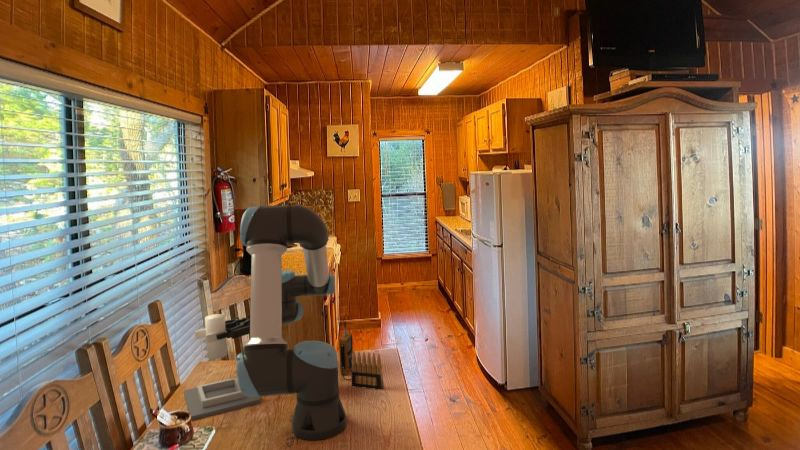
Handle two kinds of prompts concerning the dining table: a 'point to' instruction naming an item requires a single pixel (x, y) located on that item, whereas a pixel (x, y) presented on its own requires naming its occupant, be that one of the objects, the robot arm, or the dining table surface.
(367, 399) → the dining table surface
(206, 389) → the socket block
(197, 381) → the dining table surface
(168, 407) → the dining table surface
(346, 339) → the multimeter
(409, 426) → the dining table surface
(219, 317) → the plug
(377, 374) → the ammunition clip
